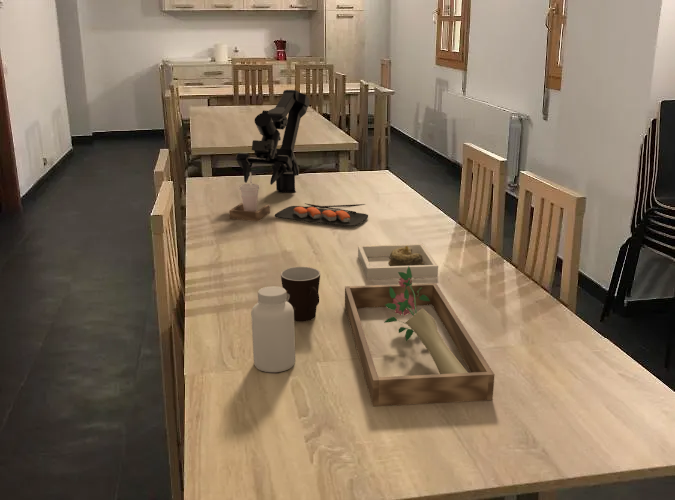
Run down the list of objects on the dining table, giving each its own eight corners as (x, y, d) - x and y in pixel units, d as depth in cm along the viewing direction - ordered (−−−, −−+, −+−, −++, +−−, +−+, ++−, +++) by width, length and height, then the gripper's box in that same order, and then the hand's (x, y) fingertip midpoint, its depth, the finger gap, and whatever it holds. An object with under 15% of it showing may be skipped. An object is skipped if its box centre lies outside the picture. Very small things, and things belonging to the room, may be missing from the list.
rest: (241, 210, 239) (241, 202, 238) (269, 213, 236) (269, 204, 235) (229, 218, 230) (229, 210, 229) (258, 221, 227) (258, 212, 226)
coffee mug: (281, 308, 161) (280, 267, 158) (319, 307, 162) (319, 266, 159) (282, 330, 150) (280, 286, 147) (322, 329, 151) (322, 285, 148)
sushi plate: (271, 221, 229) (270, 210, 228) (310, 199, 255) (309, 189, 254) (355, 232, 218) (355, 220, 217) (386, 208, 245) (387, 197, 243)
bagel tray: (422, 254, 197) (422, 243, 196) (437, 277, 180) (438, 266, 179) (357, 256, 195) (358, 245, 194) (367, 279, 178) (367, 268, 177)
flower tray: (435, 303, 164) (436, 283, 162) (492, 399, 124) (494, 374, 122) (344, 306, 162) (344, 286, 160) (372, 406, 122) (373, 380, 120)
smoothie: (260, 216, 230) (259, 174, 226) (240, 217, 229) (238, 175, 225) (259, 211, 236) (258, 170, 232) (240, 212, 235) (238, 170, 231)
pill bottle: (271, 350, 141) (269, 280, 137) (303, 361, 137) (302, 289, 132) (244, 366, 135) (241, 293, 130) (277, 378, 131) (275, 302, 126)
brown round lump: (400, 275, 183) (400, 255, 182) (380, 264, 192) (379, 245, 190) (432, 266, 188) (432, 247, 186) (411, 255, 196) (410, 237, 194)
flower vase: (436, 430, 128) (373, 316, 157) (497, 405, 129) (424, 296, 158) (425, 385, 121) (362, 275, 150) (491, 359, 123) (415, 254, 151)
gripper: (236, 128, 239) (224, 168, 232) (288, 131, 234) (277, 171, 227) (246, 147, 248) (235, 186, 242) (297, 150, 244) (286, 189, 237)
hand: (258, 183), depth 237 cm, fingers open, 9 cm apart
